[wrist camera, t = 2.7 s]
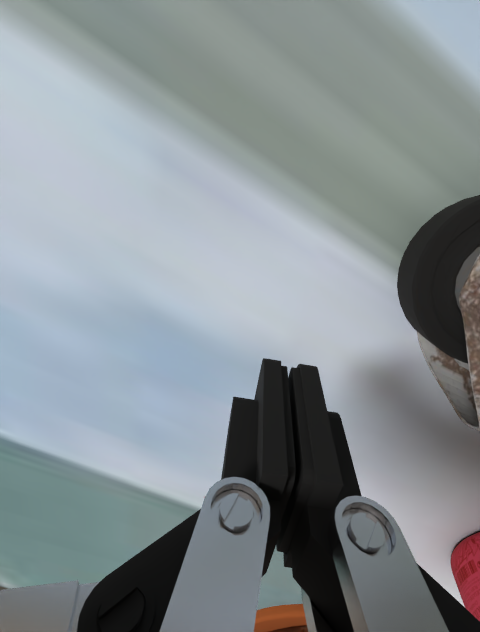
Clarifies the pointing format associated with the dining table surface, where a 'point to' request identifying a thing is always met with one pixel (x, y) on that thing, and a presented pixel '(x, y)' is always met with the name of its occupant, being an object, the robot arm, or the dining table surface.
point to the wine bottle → (468, 572)
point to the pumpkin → (281, 619)
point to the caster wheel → (447, 301)
